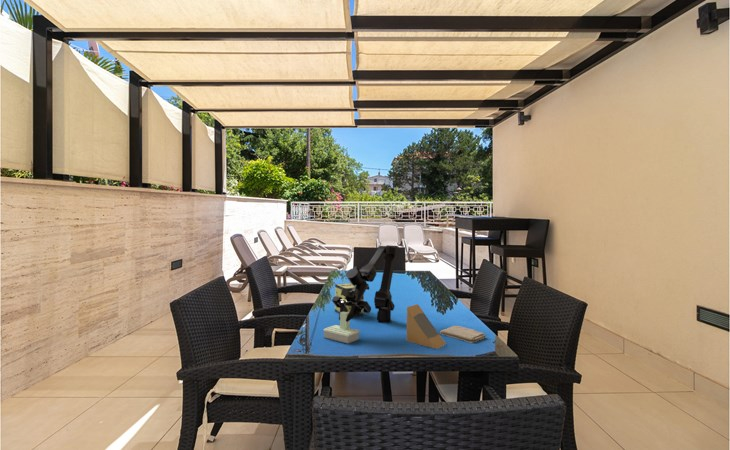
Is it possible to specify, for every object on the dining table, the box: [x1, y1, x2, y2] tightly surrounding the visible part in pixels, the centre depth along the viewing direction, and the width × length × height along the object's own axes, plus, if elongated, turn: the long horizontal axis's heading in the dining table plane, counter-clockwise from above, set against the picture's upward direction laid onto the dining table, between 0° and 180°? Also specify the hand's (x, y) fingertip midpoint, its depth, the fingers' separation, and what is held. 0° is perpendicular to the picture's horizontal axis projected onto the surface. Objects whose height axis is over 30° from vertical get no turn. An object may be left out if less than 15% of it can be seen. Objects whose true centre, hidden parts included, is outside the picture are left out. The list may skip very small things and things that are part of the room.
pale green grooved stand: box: [323, 312, 360, 337], centre depth 169 cm, size 8×13×8 cm, turn 55°
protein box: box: [334, 282, 365, 318], centre depth 213 cm, size 10×16×16 cm
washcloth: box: [439, 325, 487, 344], centre depth 175 cm, size 12×18×3 cm, turn 45°
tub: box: [323, 330, 360, 345], centre depth 169 cm, size 8×13×3 cm, turn 55°
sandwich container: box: [406, 304, 447, 350], centre depth 165 cm, size 9×15×15 cm, turn 49°
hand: (342, 320), depth 169 cm, fingers closed on pale green grooved stand, 3 cm apart
